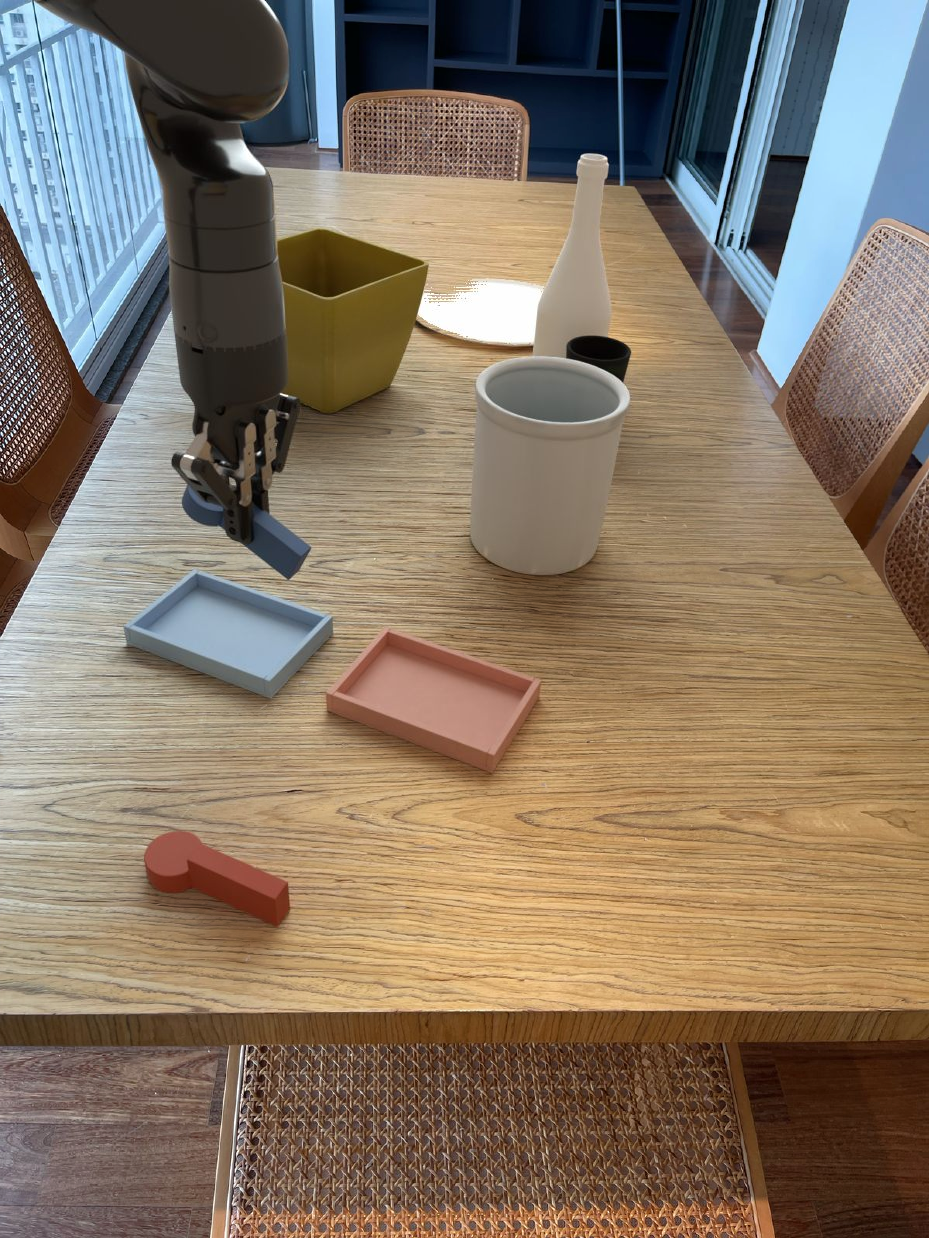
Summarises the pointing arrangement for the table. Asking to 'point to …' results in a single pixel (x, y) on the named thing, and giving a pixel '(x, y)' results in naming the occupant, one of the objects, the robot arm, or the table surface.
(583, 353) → the cup
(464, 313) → the plate
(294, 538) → the spoon blue
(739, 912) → the table surface
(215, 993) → the table surface
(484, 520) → the utensil holder
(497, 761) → the tray pink
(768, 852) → the table surface
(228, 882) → the spoon red
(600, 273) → the wine bottle
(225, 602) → the tray blue
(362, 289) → the flower pot
